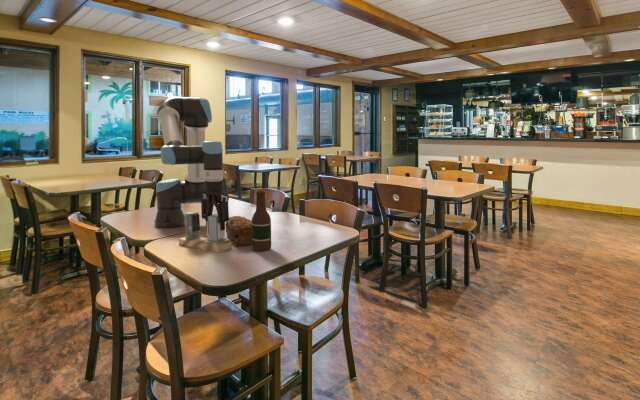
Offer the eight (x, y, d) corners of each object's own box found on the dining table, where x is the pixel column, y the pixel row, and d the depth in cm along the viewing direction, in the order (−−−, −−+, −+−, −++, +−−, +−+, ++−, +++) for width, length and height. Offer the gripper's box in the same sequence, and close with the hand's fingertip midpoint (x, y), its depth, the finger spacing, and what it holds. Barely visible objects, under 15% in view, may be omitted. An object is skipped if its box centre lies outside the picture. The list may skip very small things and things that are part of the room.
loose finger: (223, 241, 164) (222, 215, 162) (216, 243, 160) (215, 217, 159) (215, 240, 166) (214, 214, 164) (208, 242, 163) (206, 215, 161)
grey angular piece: (178, 244, 170) (177, 213, 168) (191, 240, 176) (190, 210, 173) (219, 252, 158) (217, 219, 156) (231, 248, 164) (230, 216, 162)
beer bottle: (261, 245, 169) (260, 189, 165) (275, 248, 164) (274, 190, 160) (248, 249, 162) (246, 191, 158) (262, 253, 158) (261, 193, 154)
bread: (225, 237, 183) (224, 215, 181) (248, 235, 187) (248, 214, 185) (234, 247, 166) (233, 224, 164) (259, 245, 170) (258, 222, 168)
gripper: (190, 179, 160) (192, 236, 164) (224, 182, 151) (226, 242, 155) (204, 178, 167) (206, 232, 171) (237, 180, 158) (239, 237, 162)
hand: (215, 236), depth 163 cm, fingers open, 5 cm apart
